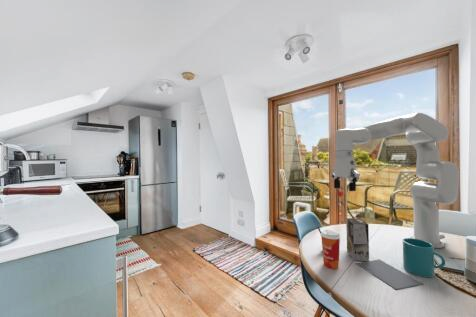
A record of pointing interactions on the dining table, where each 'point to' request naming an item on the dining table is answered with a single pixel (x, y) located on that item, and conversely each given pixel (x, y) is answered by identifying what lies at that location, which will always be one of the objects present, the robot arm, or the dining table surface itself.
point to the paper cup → (330, 248)
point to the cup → (420, 257)
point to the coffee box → (357, 239)
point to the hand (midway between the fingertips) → (344, 189)
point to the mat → (389, 274)
